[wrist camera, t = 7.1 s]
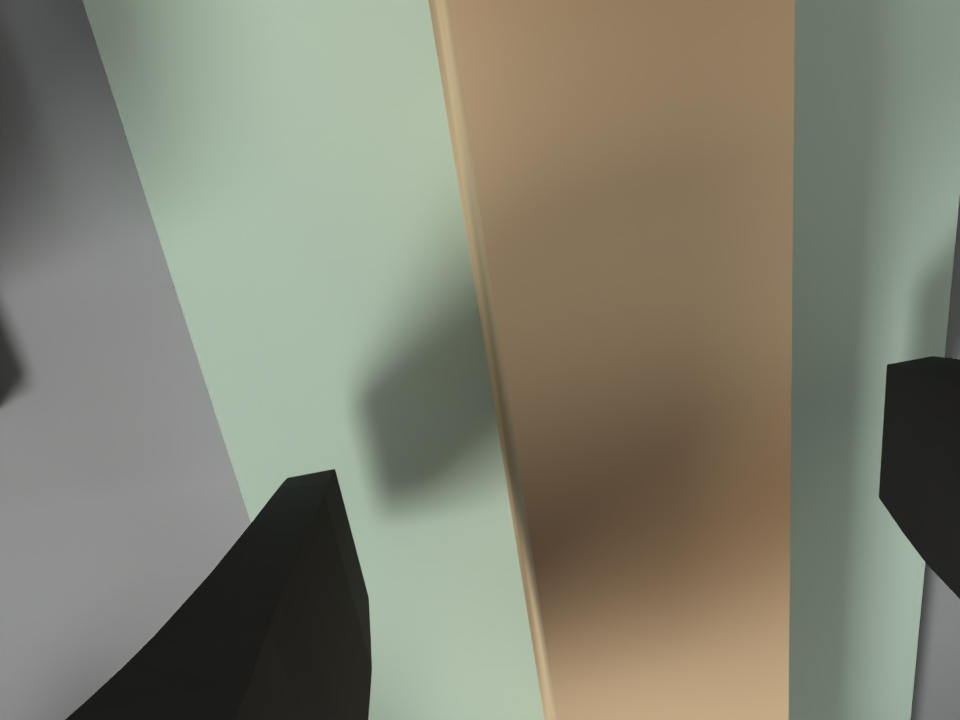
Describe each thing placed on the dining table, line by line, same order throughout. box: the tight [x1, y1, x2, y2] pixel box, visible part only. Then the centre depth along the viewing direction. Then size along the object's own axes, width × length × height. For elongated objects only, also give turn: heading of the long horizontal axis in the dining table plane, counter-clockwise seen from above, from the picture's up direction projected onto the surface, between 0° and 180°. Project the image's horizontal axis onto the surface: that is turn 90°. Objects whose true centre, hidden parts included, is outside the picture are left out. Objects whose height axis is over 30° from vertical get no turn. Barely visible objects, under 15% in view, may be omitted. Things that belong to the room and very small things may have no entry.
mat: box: [82, 0, 960, 720], centre depth 12 cm, size 22×10×1 cm, turn 9°
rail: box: [428, 0, 795, 720], centre depth 10 cm, size 17×3×3 cm, turn 9°
